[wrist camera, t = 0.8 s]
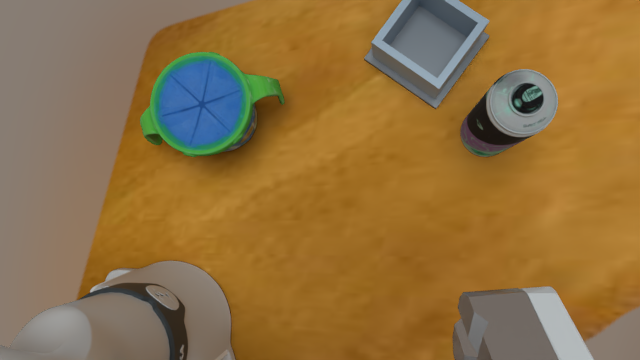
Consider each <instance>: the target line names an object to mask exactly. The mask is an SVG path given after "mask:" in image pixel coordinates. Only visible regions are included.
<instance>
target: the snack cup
mask: <svg viewBox="0 0 640 360" xmlns="http://www.w3.org/2000/svg"><path fill="white" fill-rule="evenodd" d="M268 96H278V98H279V101H280V103H281V104H282V105H283V104H284V97H283V94H282V91H281V88H280V84H279V81H278V80H277V79H273V78H269V77H265V76H258V75H247V74H244V73H243V72H242V71H241V70H240V69H239V68H238V67H237V66H236V65H235V64H233V63H232V62H231V61H230V60H228V59H227V58H225V57H222V56H220V55H219V54H218V53H214V52H209V53H207V52H197V53H189V54H187V55H184V56H182V57H180V58H178V59H176V60H175V61H173V62H172V63H170V64H169V65H168V66H167V67H166V68H165V69H163V71H162V73H161V74H160V75H159V77H158V78H157V80H156V82H155V84H154V87H153V90H152V94H151V101H150V107H149V108H148V109H147V110H146V111H145V112H144V113H143V114H142V116H141V118H140V124H141V127H142V130H143V135H144V137H145V138H146V139H147V140H148V141H149V142H151V143H152V144H155V145H160V144H161V143H162V140H163V139H164V140H165V141H166V142H167V143H168V144H169V145H170V146H172V147H173V148H175V149H177V150H179V151H181V152H183V154H184V155H187V156H191V157H196V156H209V155H214V154H218V153H220V152H225V151H231V150H234V149H236V148H239V147H240V146H242V145H244V144H245V143H246V142H247V141H248V140H250V139H251V137H252V135H253V133H254V131H255V129H256V125H257V111H256V107H255V104H254V103H255V102H256V101H258V100H259V99H261V98H263V97H268Z"/></svg>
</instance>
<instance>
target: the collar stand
mask: <svg viewBox="0 0 640 360" xmlns="http://www.w3.org/2000/svg"><path fill="white" fill-rule="evenodd" d="M488 23H489V20H487V19H486V18H484V17H483V16H481V15H480V14H478V13H477V12H475V11H474V10H472V9H471V8H469V7H468V6H466V5H465V4H463V3H462V2H460V1H459V0H402V1H401V3H400V4H399V5H398V7H397V8H396V9H395V11H394V12H393V14H392V15H391V16H390V18H389V19H388V20H387V22H386V23H385V24H384V26H383V27H382V29H381V30H380V31H379V33H378V34H377V35H376V37H375V38H374V40H373V41H372V42H371V43H372V48H371V50H370V51H369V52H368V54H367V55H366V57H365V58H364V60H366V61H367V62H368V63H370V64H371V65H373V66H374V67H376V68H377V69H378V70H380V71H381V72H383V73H384V74H386V75H387V76H389V77H390V78H391V79H393V80H394V81H396V82H397V83H399V84H400V85H402V86H403V87H404V88H406V89H407V90H409V91H410V92H412V93H413V94H414V95H416V96H417V97H419V98H420V99H422V100H423V101H425V102H426V103H427V104H429V105H430V106H432V107H433V108H435V109H436V108H437V107H438V105H439V104H440V103H441V101H442V100H443V99H444V97H445V96H446V95H447V93H448V92H449V90H450V89H451V88H452V86H453V85H454V84H455V82H456V81H457V80H458V78H459V77H460V76H461V74H462V73H463V72H464V70H465V69H466V67H467V66H468V65H469V63H470V62H471V61H472V59H473V58H474V57H475V55H476V54H477V53H478V51H479V50H480V49H481V47H482V46H483V44H484V43H485V42H486V40H487V39H488V38H489V35H488V34H486V33H485V32H484V30H485V28H486V26H487V25H488Z"/></svg>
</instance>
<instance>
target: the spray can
mask: <svg viewBox="0 0 640 360" xmlns="http://www.w3.org/2000/svg"><path fill="white" fill-rule="evenodd" d="M557 106H558V97H557V92H556V90H555V88H554V86H553V84H552V83H551V81H550V80H549V79H548V78H547V77H546V76H544V75H542V74H541V73H539V72H536V71H534V70H528V69H520V70H515V71H512V72H509V73H507V74H505V75H503V76H502V77H500V78H499V79H498V80H497V81H496V82H495V83H494V84H493V85H492V86H491V88H490V89H489V90H488V91H487V92H486V94H485V95H484V96H483V97H482V99H481V100H480V101H479V102H478V103H477V105H476V106H475V107H474V108H473V109H472V111H471V112H470V113H469V114H468V115H467V117H466V118H465V120H464V121H463V124H462V126H461V140H462V142H463V144H464V146H465V147H466V148H467V149H468V150H469V151H470V152H471V153H473V154H475V155H477V156H482V157H489V156H494V155H496V154H499V153H501V152H502V151H504V150H506V149H508V148H510V147H512V146H514V145H516V144H518V143H520V142H521V141H523V140H525V139H527V138H529V137H531V136H533V135H535V134H537V133H538V132H540V131H542V130H543V129H544V128H545V127H546V126H547V125H548V124H549V123H550V122H551V120H552V119H553V117H554V116H555V113H556V111H557Z"/></svg>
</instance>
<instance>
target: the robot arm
mask: <svg viewBox="0 0 640 360" xmlns="http://www.w3.org/2000/svg"><path fill="white" fill-rule="evenodd" d="M90 292H91V293H89V294H87V295H85V296H84V297H82V298H81V299H79V300H77V301H74V302H70V303H67V304H63V305H60V306H56V307H52V308H49V309H47V310H45V311H43V312H41V313H39V314H38V315H36V316H35V317H34V318H32V319H31V320H30V321H29V322H28V323H27V324H26V325H25V326H24V327H23V329H22V330H21V331H20V332H19V333H18V335H17V336H16V338H15V339H14V340H13V342H12V344H11V345H10V347H9V348H8V347H5V346H2V345H0V360H236V359H235V356H234V353H233V350H232V347H231V342H230V336H231V315H230V310H229V306H228V303H227V300H226V298H225V295H224V293H223V292H222V290H221V288H220V287H219V285H218V284H217V283H216V282H215V281H214V279H213V278H212V277H211V276H209V275H208V274H207V273H206V272H204V271H203V270H201V269H200V268H198V267H196V266H194V265H191V264H188V263H185V262H180V261H163V262H158V263H155V264H152V265H149V266H146V267H144V268H140V269H130V268H119V269H116V270H113V271H111V272H110V273H109V274H108V276H107V278H106V280H105V282H103V283H100V284H98V285H96V286H94V287H93V288H92V289H91V290H90ZM458 309H459V312H460V315H461V319H460V320H459V321H458V322H457V323H456V324H455V325H454V332H453V353H454V358H455V360H594V359H593V357H592V355H591V353H590V351H589V350H588V348H587V346H586V344H585V342H584V341H583V339H582V337H581V335H580V333H579V332H578V330H577V328H576V326H575V325H574V323H573V321H572V319H571V317H570V316H569V314H568V312H567V310H566V308H565V307H564V305H563V303H562V301H561V299H560V298H559V296H558V294H557V292H556V291H555V290H554V289H553V288H552V287H535V288H521V289H518V288H514V289H501V290H488V291H475V292H463V293H462V295H461V296H460V299H459V304H458Z"/></svg>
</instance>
